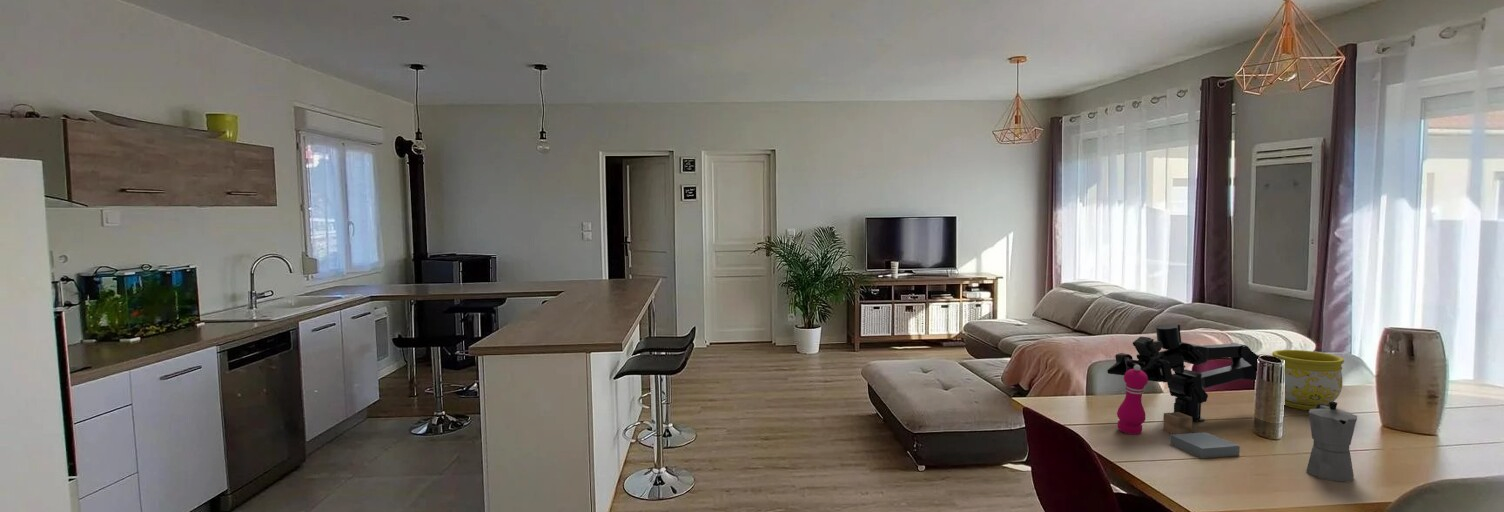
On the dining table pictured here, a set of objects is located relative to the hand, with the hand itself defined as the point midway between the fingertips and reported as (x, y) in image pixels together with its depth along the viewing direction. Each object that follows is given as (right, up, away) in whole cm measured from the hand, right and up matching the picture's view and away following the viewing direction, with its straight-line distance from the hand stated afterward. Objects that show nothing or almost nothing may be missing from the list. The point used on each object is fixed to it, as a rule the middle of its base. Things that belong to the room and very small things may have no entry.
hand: (1118, 374), depth 205 cm
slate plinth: (+13, -17, -19) cm, 28 cm away
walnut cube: (+14, -16, -5) cm, 22 cm away
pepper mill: (+1, -16, -4) cm, 16 cm away
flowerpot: (+70, -14, +19) cm, 74 cm away
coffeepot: (+32, -18, -36) cm, 51 cm away
